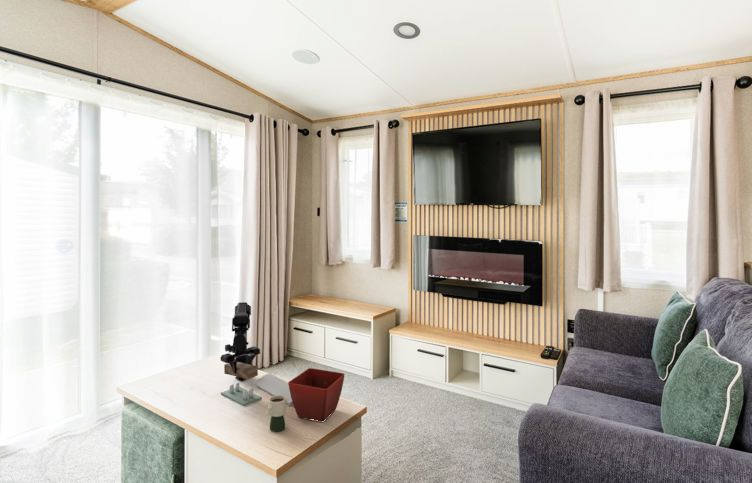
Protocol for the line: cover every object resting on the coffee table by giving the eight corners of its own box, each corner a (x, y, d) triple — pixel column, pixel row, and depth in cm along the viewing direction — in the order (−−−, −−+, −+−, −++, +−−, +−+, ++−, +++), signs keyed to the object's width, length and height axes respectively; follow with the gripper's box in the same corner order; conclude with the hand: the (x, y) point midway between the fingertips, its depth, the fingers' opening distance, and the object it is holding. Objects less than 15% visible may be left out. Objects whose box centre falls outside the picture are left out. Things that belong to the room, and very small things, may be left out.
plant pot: (326, 428, 169) (326, 389, 168) (287, 420, 175) (287, 382, 175) (345, 408, 187) (345, 373, 186) (309, 402, 193) (309, 367, 192)
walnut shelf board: (257, 375, 197) (257, 366, 197) (248, 379, 191) (248, 370, 191) (233, 369, 204) (233, 360, 204) (224, 373, 199) (224, 364, 198)
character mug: (279, 421, 174) (279, 392, 174) (292, 425, 171) (292, 395, 170) (261, 432, 165) (261, 401, 164) (274, 437, 161) (274, 405, 161)
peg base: (238, 388, 208) (238, 378, 208) (261, 399, 196) (261, 389, 196) (221, 394, 201) (220, 384, 200) (243, 406, 188) (243, 395, 188)
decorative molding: (291, 412, 189) (308, 400, 196) (288, 403, 188) (305, 391, 195) (255, 390, 213) (271, 380, 220) (252, 382, 212) (268, 372, 219)
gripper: (248, 333, 209) (248, 362, 210) (214, 341, 195) (214, 372, 196) (260, 337, 202) (260, 367, 203) (226, 346, 188) (226, 378, 189)
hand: (241, 371), depth 198 cm, fingers closed on walnut shelf board, 6 cm apart
